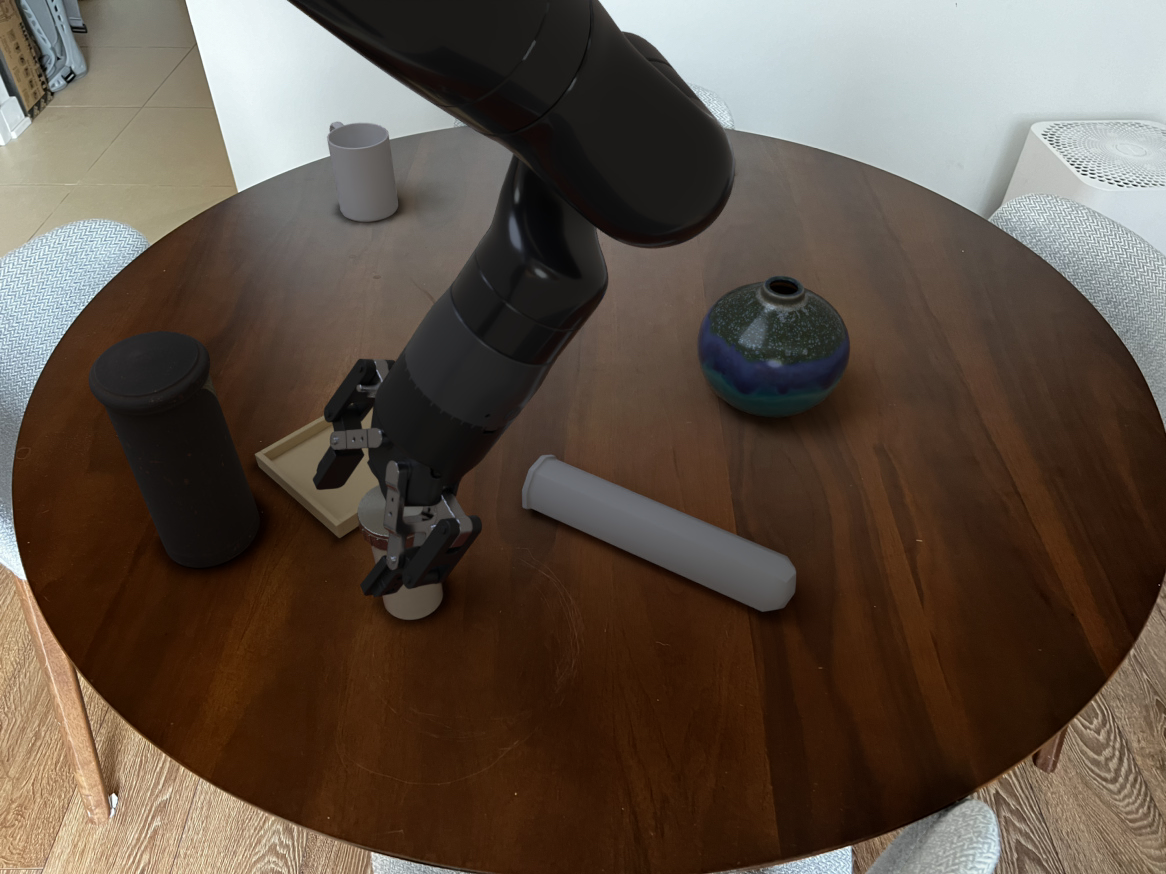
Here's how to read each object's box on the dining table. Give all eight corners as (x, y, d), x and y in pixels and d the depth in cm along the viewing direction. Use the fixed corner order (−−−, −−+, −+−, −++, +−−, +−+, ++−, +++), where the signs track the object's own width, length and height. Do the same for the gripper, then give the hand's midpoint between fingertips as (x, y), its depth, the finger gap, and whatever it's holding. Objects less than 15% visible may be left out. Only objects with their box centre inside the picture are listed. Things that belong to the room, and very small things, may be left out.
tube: (812, 552, 76) (555, 445, 84) (795, 580, 71) (525, 465, 80) (794, 603, 78) (546, 494, 87) (776, 634, 74) (517, 516, 82)
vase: (866, 394, 97) (896, 289, 88) (776, 462, 89) (799, 354, 80) (753, 331, 105) (770, 228, 96) (661, 388, 97) (671, 282, 88)
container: (278, 500, 85) (223, 324, 71) (242, 576, 78) (174, 398, 64) (188, 493, 85) (116, 317, 72) (145, 568, 79) (57, 389, 65)
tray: (339, 538, 81) (336, 526, 80) (258, 466, 88) (254, 454, 87) (452, 464, 88) (450, 451, 87) (369, 403, 95) (367, 390, 94)
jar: (408, 630, 74) (391, 546, 67) (371, 596, 77) (351, 511, 70) (455, 595, 77) (444, 510, 70) (417, 563, 79) (403, 478, 72)
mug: (409, 211, 125) (399, 138, 117) (356, 228, 121) (343, 154, 114) (368, 177, 132) (357, 106, 125) (317, 193, 128) (303, 120, 121)
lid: (392, 565, 67) (389, 550, 66) (344, 523, 70) (340, 507, 69) (455, 522, 71) (453, 506, 69) (406, 483, 74) (403, 467, 72)
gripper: (363, 280, 52) (261, 456, 61) (470, 476, 46) (340, 639, 55) (464, 291, 58) (357, 451, 67) (571, 467, 52) (438, 617, 61)
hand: (349, 536), depth 61 cm, fingers open, 8 cm apart
